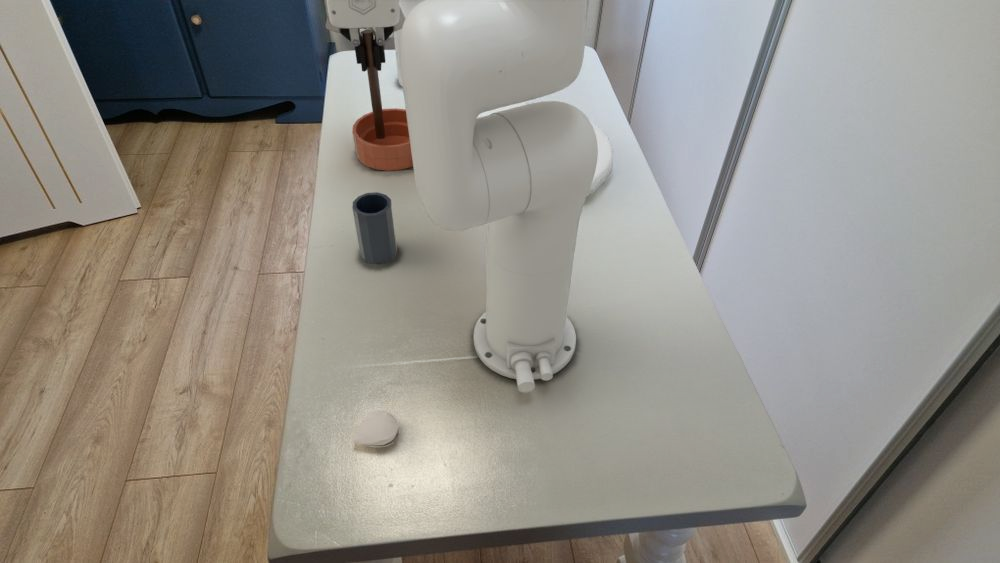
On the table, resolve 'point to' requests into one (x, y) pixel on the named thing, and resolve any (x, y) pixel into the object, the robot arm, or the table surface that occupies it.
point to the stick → (374, 84)
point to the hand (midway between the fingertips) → (371, 66)
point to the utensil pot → (375, 228)
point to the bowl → (384, 141)
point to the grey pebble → (377, 430)
